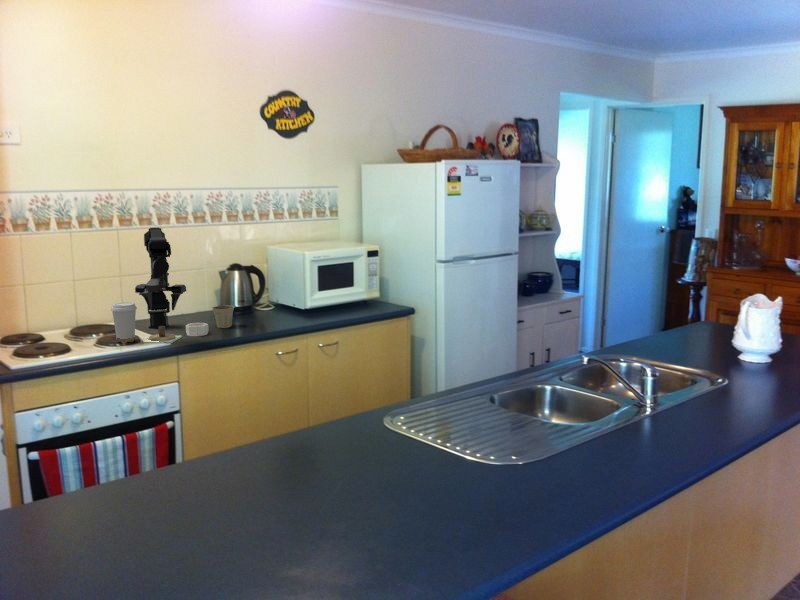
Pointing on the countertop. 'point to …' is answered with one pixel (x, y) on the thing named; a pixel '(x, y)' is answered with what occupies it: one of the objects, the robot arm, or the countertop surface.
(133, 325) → the coffee cup
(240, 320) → the countertop surface
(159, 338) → the lid
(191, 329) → the bowl
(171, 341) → the mat
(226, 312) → the flower pot
